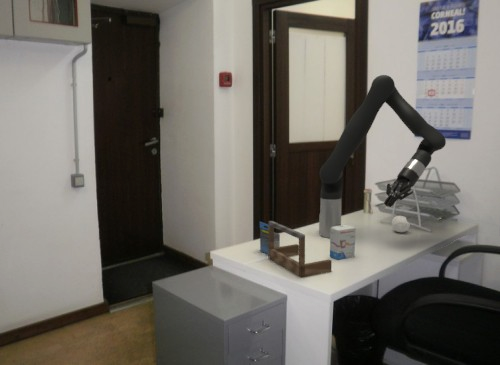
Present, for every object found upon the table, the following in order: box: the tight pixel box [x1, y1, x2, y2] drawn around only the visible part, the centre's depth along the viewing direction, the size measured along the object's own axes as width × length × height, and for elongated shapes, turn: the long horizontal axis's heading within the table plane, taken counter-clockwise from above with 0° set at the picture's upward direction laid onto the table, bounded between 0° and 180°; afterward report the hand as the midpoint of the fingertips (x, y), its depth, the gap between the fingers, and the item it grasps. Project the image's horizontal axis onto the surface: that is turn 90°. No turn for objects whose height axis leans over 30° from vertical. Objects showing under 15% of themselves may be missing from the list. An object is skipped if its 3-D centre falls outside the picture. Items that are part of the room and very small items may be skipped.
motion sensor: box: [391, 215, 411, 234], centre depth 210 cm, size 8×8×8 cm
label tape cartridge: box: [259, 221, 281, 255], centre depth 183 cm, size 9×4×12 cm, turn 33°
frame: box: [267, 220, 333, 278], centre depth 167 cm, size 23×12×15 cm, turn 26°
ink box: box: [329, 224, 357, 261], centre depth 176 cm, size 9×5×12 cm, turn 117°
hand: (387, 205), depth 184 cm, fingers closed
